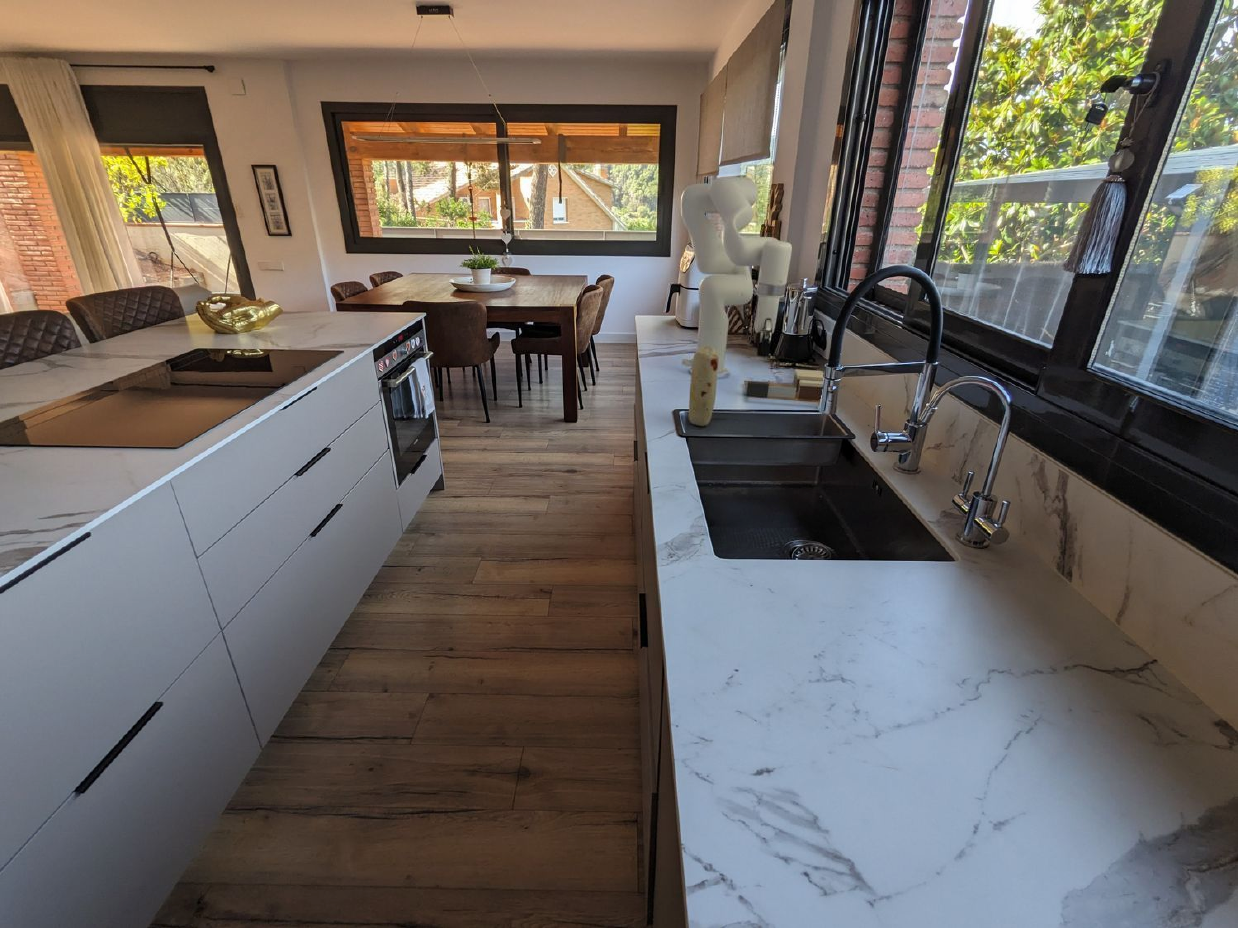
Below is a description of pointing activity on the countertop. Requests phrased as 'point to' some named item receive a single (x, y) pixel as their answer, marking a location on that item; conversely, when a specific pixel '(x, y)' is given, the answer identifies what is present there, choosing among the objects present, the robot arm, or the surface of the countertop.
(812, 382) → the cake slice
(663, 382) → the countertop surface
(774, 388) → the knife
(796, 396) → the cutting board
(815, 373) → the cake
